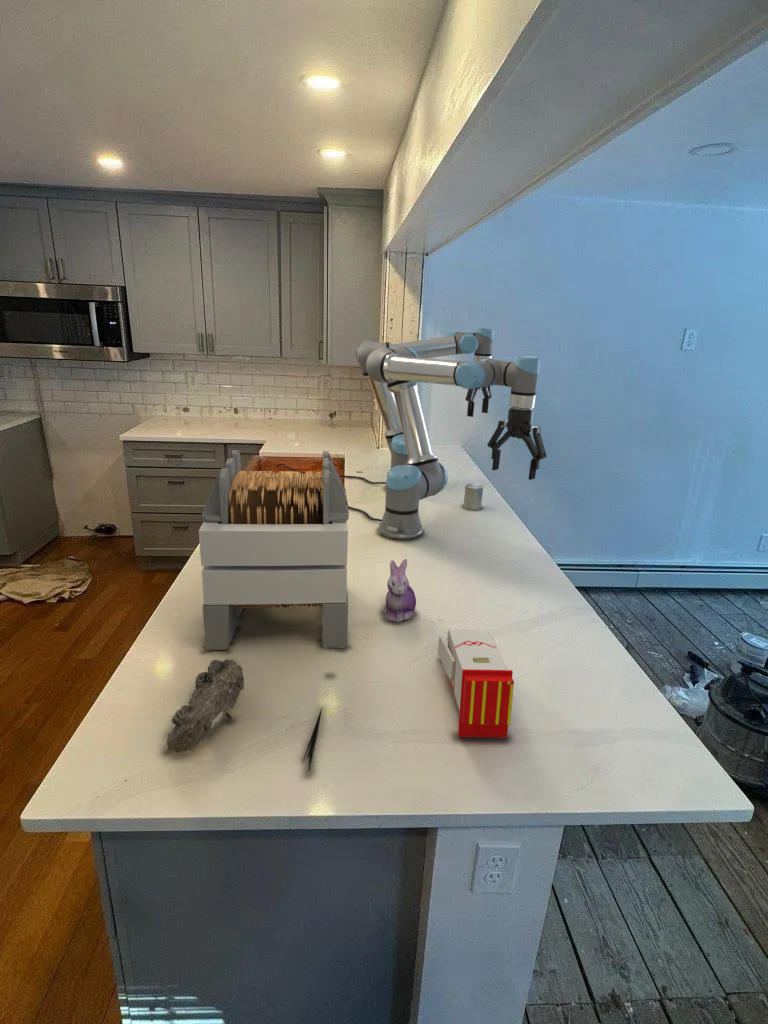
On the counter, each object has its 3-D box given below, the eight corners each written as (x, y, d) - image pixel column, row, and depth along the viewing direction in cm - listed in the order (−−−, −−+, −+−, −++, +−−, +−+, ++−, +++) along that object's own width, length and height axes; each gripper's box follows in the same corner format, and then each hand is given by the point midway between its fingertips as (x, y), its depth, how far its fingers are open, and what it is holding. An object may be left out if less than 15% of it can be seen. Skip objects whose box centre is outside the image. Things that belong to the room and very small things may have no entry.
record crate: (226, 583, 159) (217, 441, 145) (342, 582, 163) (345, 443, 149) (203, 652, 127) (189, 478, 114) (348, 648, 131) (352, 480, 117)
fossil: (192, 660, 117) (244, 628, 112) (224, 691, 120) (276, 661, 115) (142, 746, 98) (202, 712, 93) (182, 779, 101) (242, 748, 96)
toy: (488, 613, 130) (523, 677, 101) (484, 667, 133) (517, 744, 104) (435, 612, 130) (455, 676, 101) (432, 666, 133) (451, 743, 103)
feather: (331, 679, 122) (336, 673, 122) (307, 777, 96) (313, 769, 95) (324, 675, 122) (329, 669, 121) (298, 772, 95) (304, 764, 95)
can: (461, 504, 233) (463, 483, 230) (477, 504, 234) (479, 483, 231) (466, 510, 227) (468, 488, 224) (483, 510, 228) (485, 488, 225)
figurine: (392, 627, 141) (395, 572, 136) (374, 608, 149) (376, 556, 144) (425, 619, 145) (429, 566, 140) (405, 601, 154) (408, 550, 149)
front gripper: (564, 413, 170) (554, 481, 177) (494, 401, 186) (487, 464, 193) (551, 415, 164) (541, 485, 172) (481, 403, 181) (474, 467, 188)
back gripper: (475, 368, 234) (471, 419, 241) (502, 364, 253) (497, 412, 260) (460, 366, 238) (456, 416, 245) (487, 363, 257) (483, 410, 264)
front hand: (513, 474), depth 182 cm, fingers open, 13 cm apart
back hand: (477, 414), depth 253 cm, fingers open, 13 cm apart
